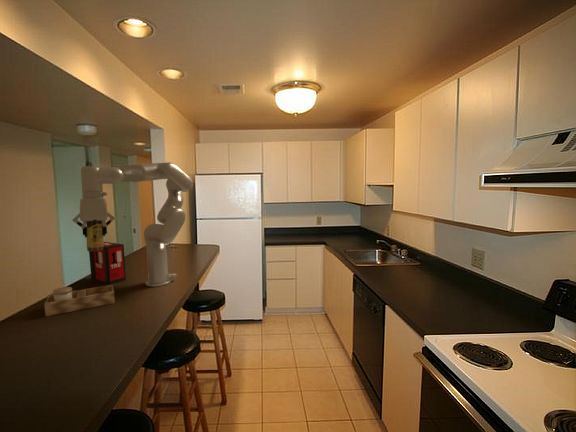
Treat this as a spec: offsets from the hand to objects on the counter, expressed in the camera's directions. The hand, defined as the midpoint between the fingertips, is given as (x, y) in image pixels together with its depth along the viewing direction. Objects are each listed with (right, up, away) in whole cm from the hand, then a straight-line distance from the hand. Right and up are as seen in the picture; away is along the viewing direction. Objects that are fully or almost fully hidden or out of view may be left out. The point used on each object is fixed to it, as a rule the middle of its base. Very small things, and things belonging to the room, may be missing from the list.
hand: (95, 235), depth 130 cm
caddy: (-4, -30, -3) cm, 31 cm away
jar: (-9, -30, -6) cm, 32 cm away
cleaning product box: (-14, -27, +32) cm, 44 cm away
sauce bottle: (0, -7, +1) cm, 7 cm away
